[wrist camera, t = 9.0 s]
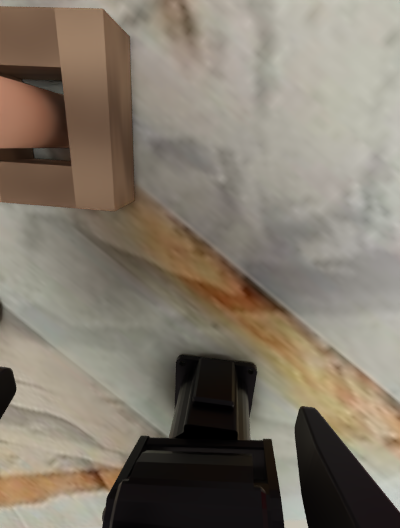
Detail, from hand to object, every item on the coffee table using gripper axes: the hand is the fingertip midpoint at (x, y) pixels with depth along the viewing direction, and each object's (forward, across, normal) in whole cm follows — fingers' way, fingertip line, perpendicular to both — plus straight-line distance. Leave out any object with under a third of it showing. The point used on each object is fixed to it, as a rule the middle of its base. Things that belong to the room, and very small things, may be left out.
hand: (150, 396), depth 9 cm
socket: (+12, +9, -8) cm, 17 cm away
